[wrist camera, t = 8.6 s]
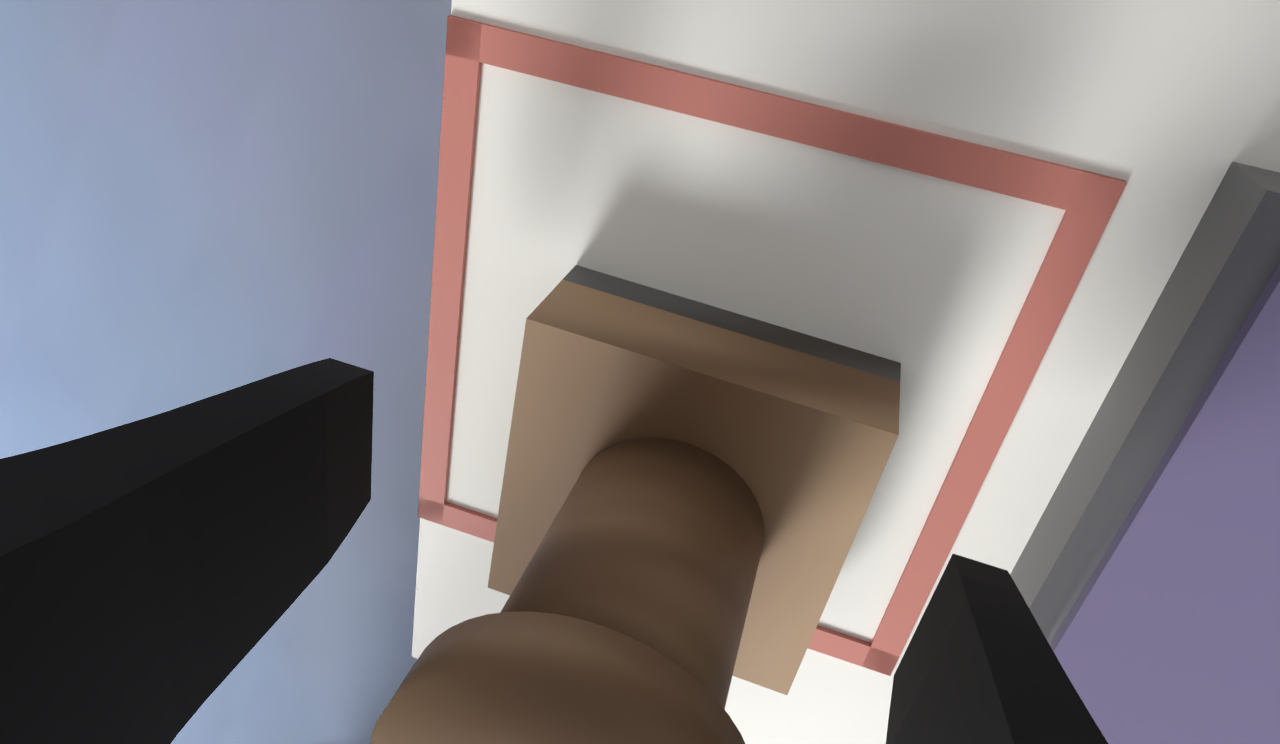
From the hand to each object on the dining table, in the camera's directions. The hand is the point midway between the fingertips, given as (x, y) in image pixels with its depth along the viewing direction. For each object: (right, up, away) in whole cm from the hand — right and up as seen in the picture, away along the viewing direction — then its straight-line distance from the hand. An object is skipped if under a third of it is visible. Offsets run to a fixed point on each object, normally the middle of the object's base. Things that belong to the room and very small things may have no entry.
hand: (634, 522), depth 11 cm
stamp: (+1, +1, +4) cm, 4 cm away
